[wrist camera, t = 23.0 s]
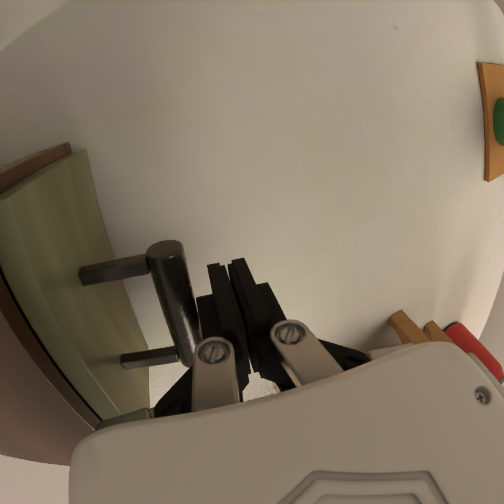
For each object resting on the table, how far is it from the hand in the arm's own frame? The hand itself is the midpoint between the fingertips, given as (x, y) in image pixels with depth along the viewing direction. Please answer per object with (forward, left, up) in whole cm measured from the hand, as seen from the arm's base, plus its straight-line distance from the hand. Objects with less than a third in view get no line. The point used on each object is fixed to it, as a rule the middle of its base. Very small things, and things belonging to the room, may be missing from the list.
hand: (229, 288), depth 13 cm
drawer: (0, -10, -4) cm, 11 cm away
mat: (-9, +29, -5) cm, 30 cm away
